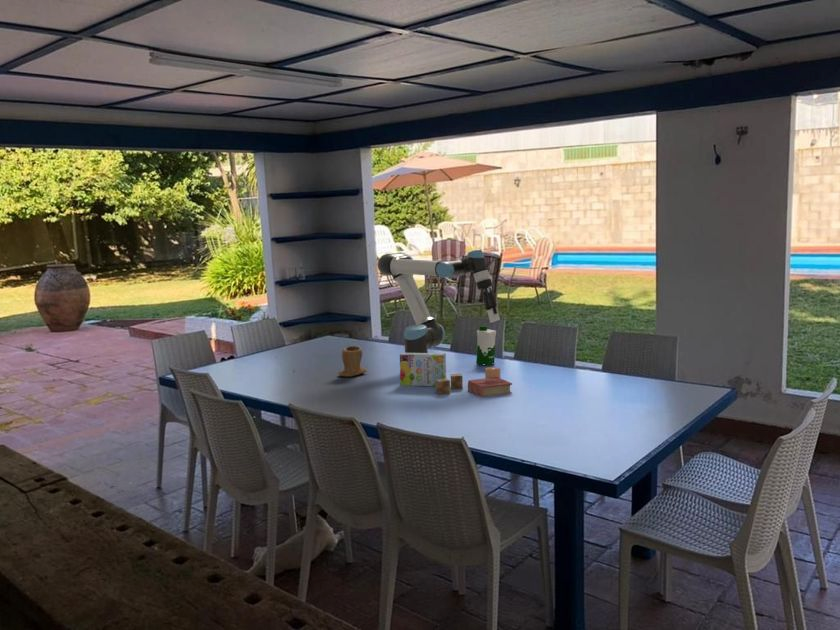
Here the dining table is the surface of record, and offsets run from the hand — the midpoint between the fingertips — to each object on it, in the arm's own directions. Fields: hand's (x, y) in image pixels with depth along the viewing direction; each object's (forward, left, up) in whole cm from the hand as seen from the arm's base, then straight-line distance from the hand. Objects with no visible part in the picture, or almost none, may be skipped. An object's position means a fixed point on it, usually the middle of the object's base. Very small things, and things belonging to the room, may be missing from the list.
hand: (495, 321), depth 358 cm
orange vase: (-71, +8, -26) cm, 76 cm away
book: (-9, -39, -27) cm, 48 cm away
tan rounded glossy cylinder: (-5, -26, -26) cm, 37 cm away
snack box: (-37, -20, -26) cm, 50 cm away
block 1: (-29, -38, -26) cm, 55 cm away
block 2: (-22, -28, -26) cm, 44 cm away
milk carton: (-2, +25, -26) cm, 36 cm away
